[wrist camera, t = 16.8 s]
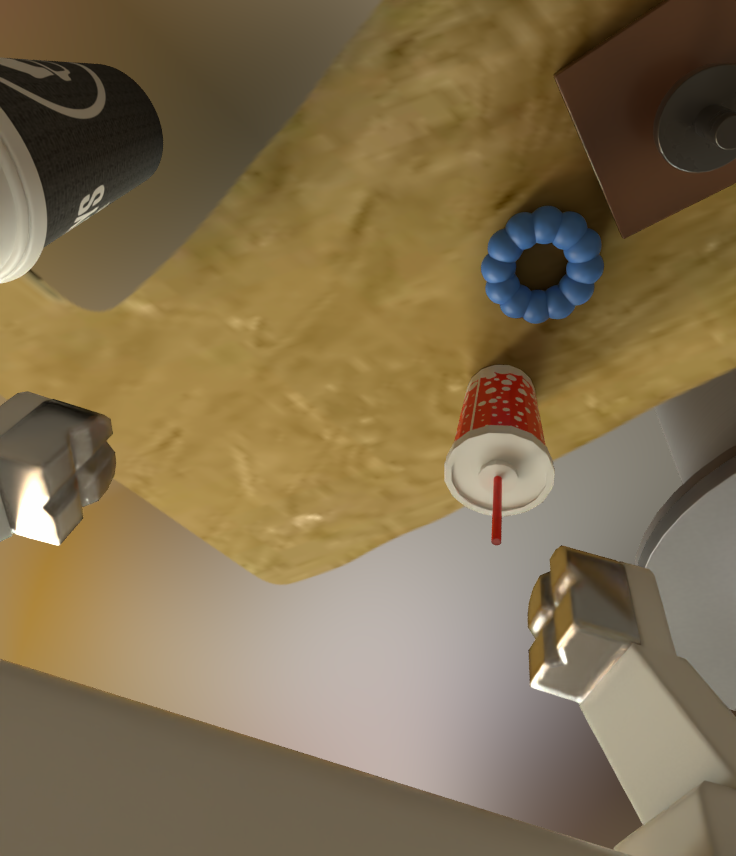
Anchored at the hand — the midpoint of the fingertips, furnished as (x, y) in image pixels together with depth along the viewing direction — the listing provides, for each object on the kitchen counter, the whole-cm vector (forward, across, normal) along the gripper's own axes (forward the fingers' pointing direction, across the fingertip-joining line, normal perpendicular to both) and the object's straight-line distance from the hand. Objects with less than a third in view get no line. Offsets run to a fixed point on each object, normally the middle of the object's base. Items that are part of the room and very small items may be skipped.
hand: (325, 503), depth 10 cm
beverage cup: (+27, -7, +13) cm, 31 cm away
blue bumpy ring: (+27, -6, +3) cm, 28 cm away
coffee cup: (+27, +20, +2) cm, 34 cm away
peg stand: (+27, -10, -6) cm, 29 cm away
